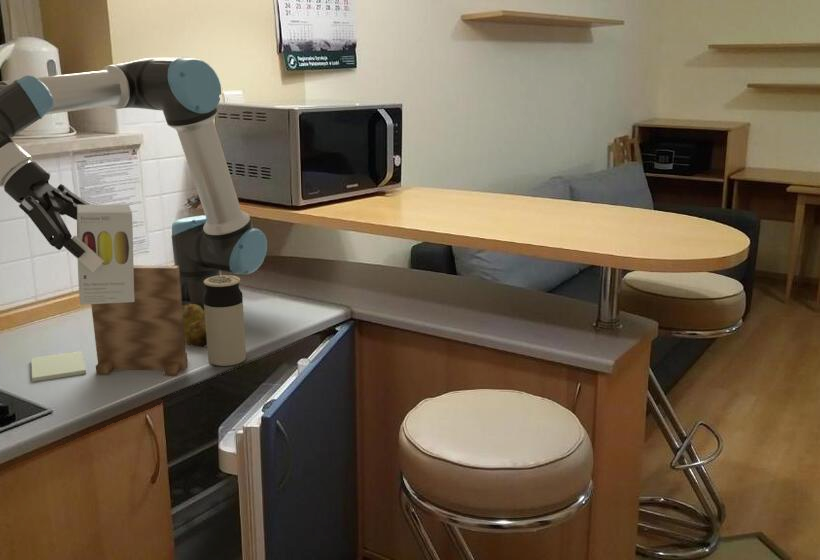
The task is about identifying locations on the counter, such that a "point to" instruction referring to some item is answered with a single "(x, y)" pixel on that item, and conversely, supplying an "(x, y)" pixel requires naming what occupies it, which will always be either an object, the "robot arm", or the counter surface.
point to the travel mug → (224, 320)
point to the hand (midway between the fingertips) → (112, 258)
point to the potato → (194, 325)
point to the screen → (143, 325)
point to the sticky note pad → (57, 366)
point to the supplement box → (106, 253)
